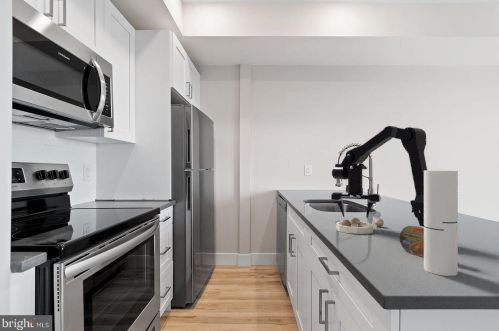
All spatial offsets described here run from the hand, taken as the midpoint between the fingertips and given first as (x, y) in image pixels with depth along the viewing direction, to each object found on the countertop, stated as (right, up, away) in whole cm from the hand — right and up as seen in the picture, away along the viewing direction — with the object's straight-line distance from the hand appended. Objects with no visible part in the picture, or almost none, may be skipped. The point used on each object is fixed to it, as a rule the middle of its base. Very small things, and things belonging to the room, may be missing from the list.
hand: (355, 217), depth 127 cm
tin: (+7, -5, -39) cm, 40 cm away
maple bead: (+11, -3, +3) cm, 12 cm away
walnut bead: (-5, -2, -5) cm, 8 cm away
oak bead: (0, -2, 0) cm, 2 cm away
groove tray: (-2, -4, -4) cm, 6 cm away
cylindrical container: (+4, -5, -51) cm, 51 cm away
